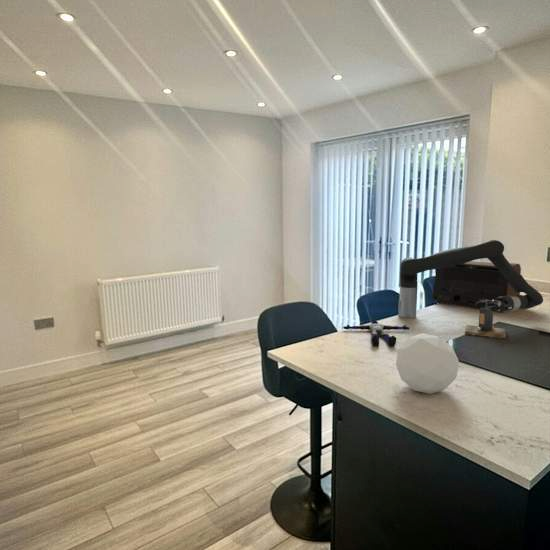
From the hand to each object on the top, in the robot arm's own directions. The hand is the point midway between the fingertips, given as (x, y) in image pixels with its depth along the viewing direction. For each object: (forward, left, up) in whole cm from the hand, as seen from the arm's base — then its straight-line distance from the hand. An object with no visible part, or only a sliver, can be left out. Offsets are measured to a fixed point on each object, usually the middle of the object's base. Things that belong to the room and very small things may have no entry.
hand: (483, 306), depth 189 cm
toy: (-44, -25, -14) cm, 52 cm away
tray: (+1, +2, -13) cm, 13 cm away
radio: (-7, +60, -14) cm, 62 cm away
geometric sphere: (-16, -74, -14) cm, 77 cm away
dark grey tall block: (+1, +2, -12) cm, 12 cm away
